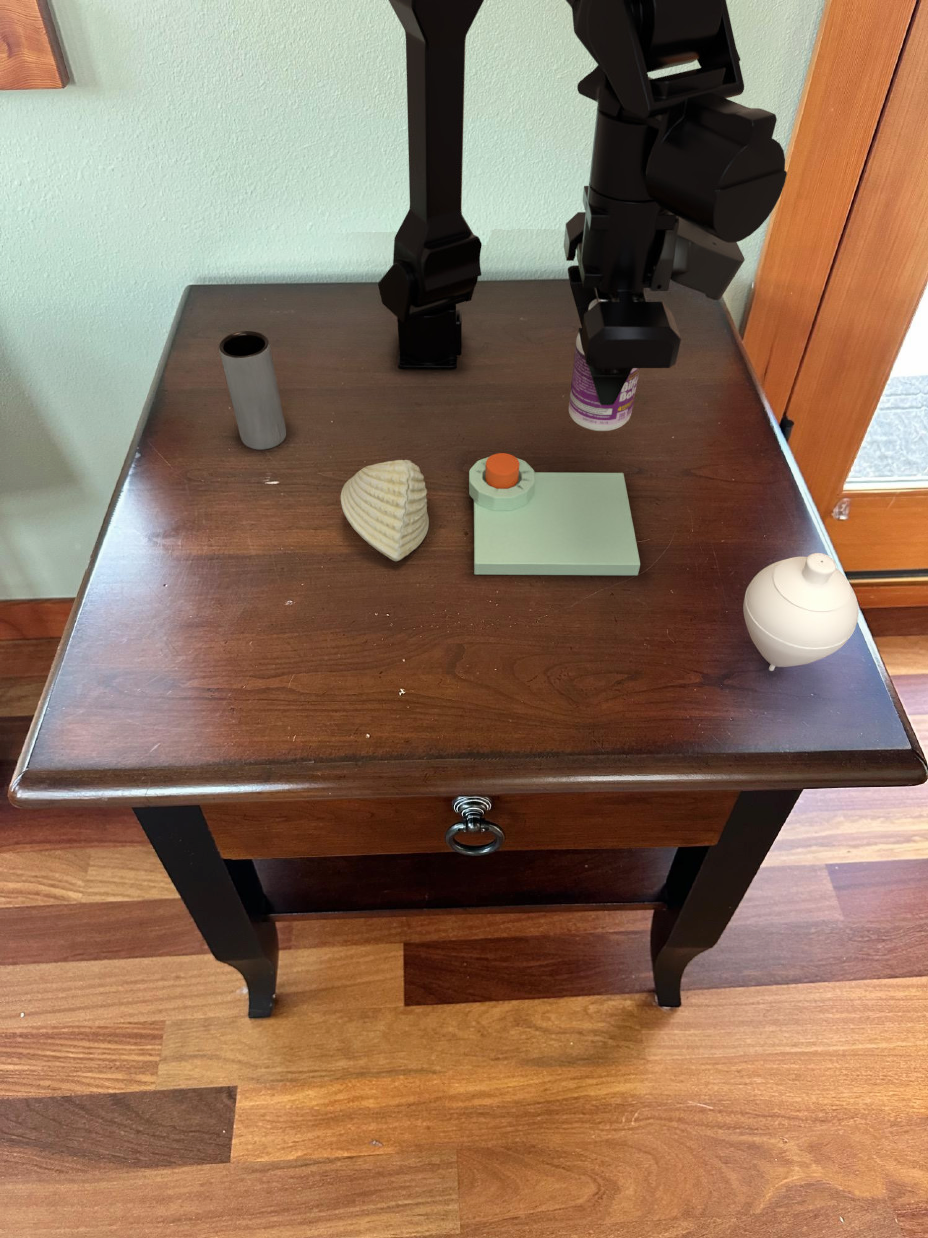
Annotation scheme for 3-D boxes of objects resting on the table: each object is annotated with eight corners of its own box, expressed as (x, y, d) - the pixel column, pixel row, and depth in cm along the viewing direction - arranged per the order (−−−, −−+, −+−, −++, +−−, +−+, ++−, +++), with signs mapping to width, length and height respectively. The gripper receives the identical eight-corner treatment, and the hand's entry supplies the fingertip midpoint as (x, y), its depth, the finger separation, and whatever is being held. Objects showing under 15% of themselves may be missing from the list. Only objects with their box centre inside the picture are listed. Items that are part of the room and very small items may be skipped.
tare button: (485, 489, 74) (486, 474, 73) (485, 468, 76) (485, 452, 75) (519, 489, 74) (520, 474, 73) (517, 468, 76) (518, 452, 75)
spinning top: (821, 721, 62) (884, 615, 53) (716, 697, 63) (760, 590, 54) (822, 643, 66) (879, 534, 57) (724, 623, 68) (765, 513, 59)
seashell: (426, 460, 78) (457, 471, 70) (409, 549, 79) (438, 568, 72) (342, 444, 74) (366, 453, 67) (326, 537, 76) (347, 555, 69)
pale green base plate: (469, 574, 71) (469, 549, 69) (468, 480, 79) (469, 454, 77) (638, 575, 71) (643, 550, 69) (620, 480, 79) (625, 455, 77)
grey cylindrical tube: (295, 429, 84) (278, 336, 76) (270, 455, 82) (250, 361, 74) (257, 417, 86) (237, 325, 78) (231, 442, 83) (208, 349, 75)
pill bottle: (629, 436, 69) (648, 329, 61) (564, 429, 69) (576, 322, 62) (633, 399, 72) (651, 293, 65) (571, 392, 73) (583, 287, 66)
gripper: (785, 247, 51) (724, 454, 62) (720, 133, 63) (680, 324, 75) (602, 248, 51) (576, 455, 62) (572, 133, 63) (555, 324, 75)
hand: (602, 384), depth 68 cm, fingers closed on pill bottle, 5 cm apart
